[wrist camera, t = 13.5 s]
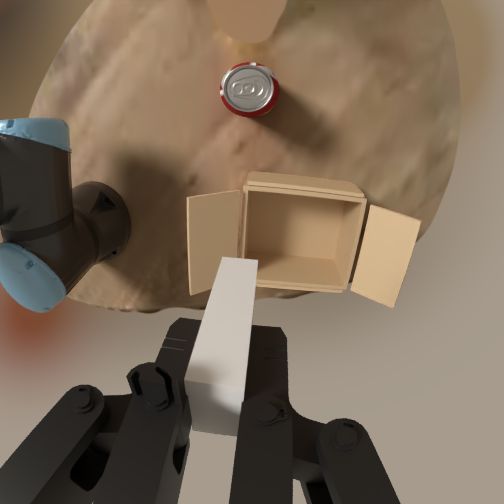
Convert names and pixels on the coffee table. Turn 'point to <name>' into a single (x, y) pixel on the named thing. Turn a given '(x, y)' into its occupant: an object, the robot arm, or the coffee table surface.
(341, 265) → the carton
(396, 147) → the coffee table surface
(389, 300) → the flap
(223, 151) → the coffee table surface
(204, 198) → the flap
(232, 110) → the soda can
